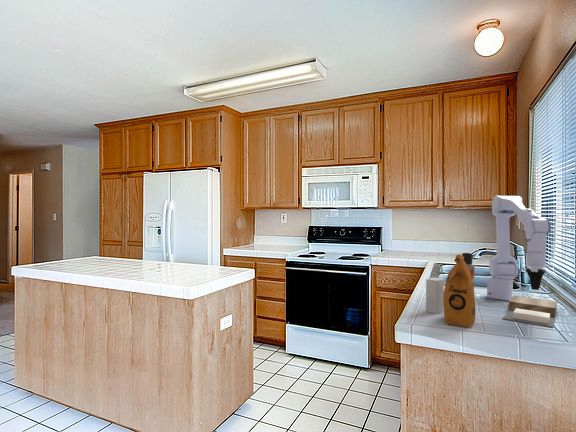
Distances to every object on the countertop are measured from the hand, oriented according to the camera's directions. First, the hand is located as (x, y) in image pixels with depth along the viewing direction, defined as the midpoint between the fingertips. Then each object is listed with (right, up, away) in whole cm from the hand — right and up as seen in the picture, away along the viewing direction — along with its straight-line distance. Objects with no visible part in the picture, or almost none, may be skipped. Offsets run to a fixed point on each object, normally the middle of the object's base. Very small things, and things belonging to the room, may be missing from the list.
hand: (535, 289), depth 131 cm
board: (+3, -9, +6) cm, 11 cm away
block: (-5, -7, -6) cm, 11 cm away
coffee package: (-33, -9, -11) cm, 36 cm away
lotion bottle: (-16, -9, +19) cm, 26 cm away
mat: (-6, -9, -5) cm, 12 cm away
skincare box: (-36, -9, +2) cm, 37 cm away
